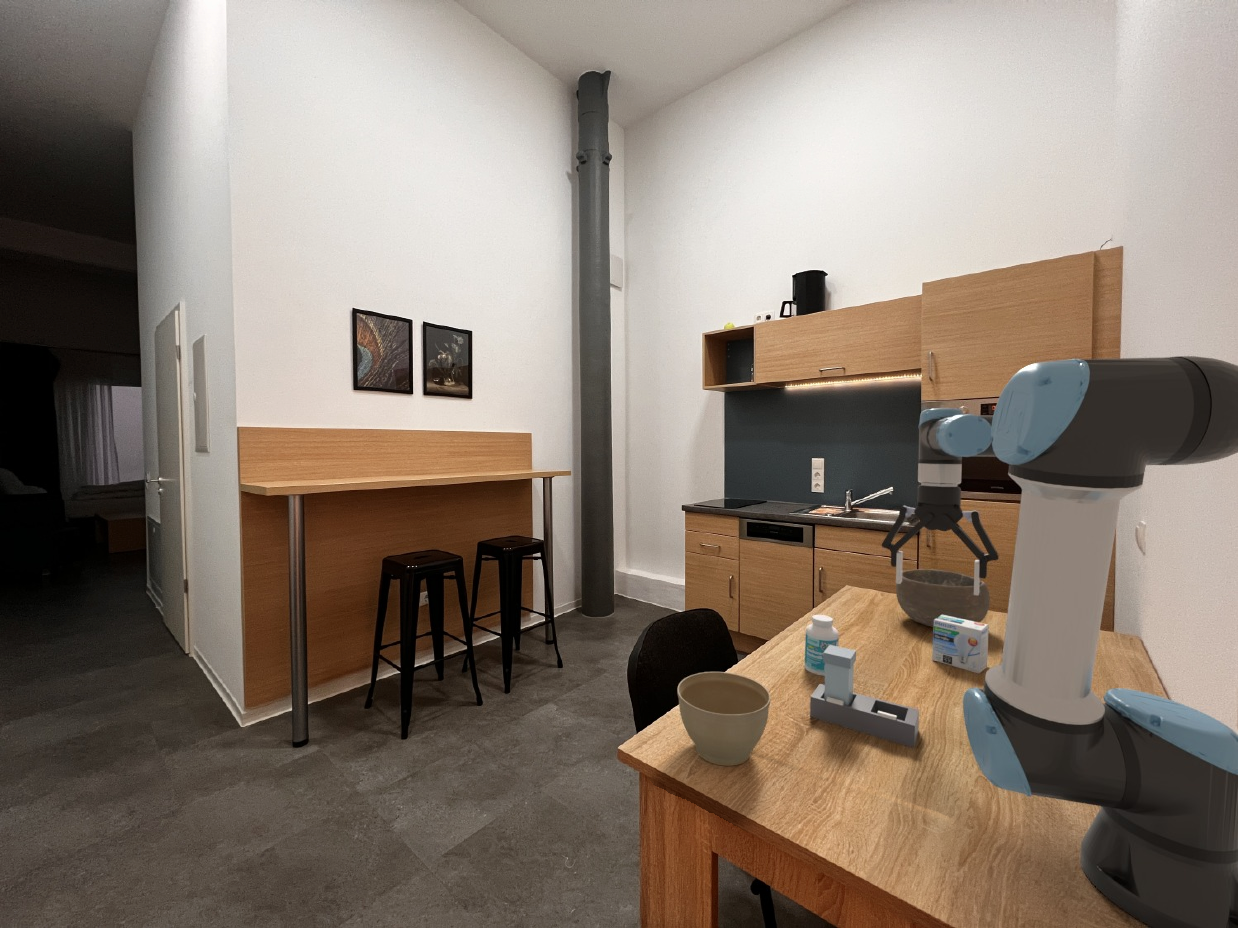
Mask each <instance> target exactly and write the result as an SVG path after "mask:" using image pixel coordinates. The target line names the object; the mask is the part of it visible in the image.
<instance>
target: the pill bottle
mask: <svg viewBox="0 0 1238 928" xmlns="http://www.w3.org/2000/svg"><path fill="white" fill-rule="evenodd" d="M833 624H834V619H833V618H832V617H830V616H828V615H824V614H814V615H812V616H811V623H810V624H809V625H807V626H806V628H805V637H804V638H805V640H804V641H805V643H804V669H805V670H806V671H808V672H810V673H812V674H814V675H818V676H823V677H825V663H823V652H824V651H825V650H826V649H827V647H828V646H829V645H833V646H838V647H839V642H840V641H839V639H840V638H839V637H840V634H839V633H840V632H839V631H838V629H836V628H835V627H834V626H833Z"/></svg>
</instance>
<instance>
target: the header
mask: <svg viewBox="0 0 1238 928" xmlns="http://www.w3.org/2000/svg"><path fill="white" fill-rule="evenodd" d="M824 691H825V684H823V683H819V684H818V686H817V687H816V689H815V690H814V691H813V692H812V694H811V695H810V696H809V697H810V698H809V701H810V702H809V703H810V705H809V707H810V708H809V710H810V711H809V717H810V718H812V719H816V720H819V721H823V722H826V723H830V724H833V725H836V726H840V727H842V728H846V729H849V730H852V731H856V732H859V733H862V734H864V735H865V734H866V735H869V736H873V737H875V738H879V739H883V740H884V741H885V740H886V741H889V742H892V743H896V744H899V745H902V746H906V747H908V748H912V749H915V748H916V743H917V738H918V734H919V727H920V726H919V723H920V721H919V720H920V709H917V708H915V707H910V706H906V705H903V704H898V703H895V702H892V701H891V702H890V701H887V700H883V699H880V698H876V697H872V696H867V695H866V694H865V695H864V694H860V693H856V692H853V703H852V705H851V706H848V705H845V704H844V701H841V700H838V699H834V698H830V697H827V698H826V699H824Z"/></svg>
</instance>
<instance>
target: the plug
mask: <svg viewBox="0 0 1238 928" xmlns="http://www.w3.org/2000/svg"><path fill="white" fill-rule="evenodd" d="M856 661H857V650H855V649H851V648H846V647H843V646H842V647H841V646H839V645H838V646H833V645H829V646H828V647H827V649H826V650H825V651H824V652H823V663H825V676H824V685H825V691H824V699H826V698H827V697H830V698H834V699H838V700H841V701H844V704H845V705H848V706H851V705H852V703H853V693H854V675H855V674H854V673H855V671H854V669H855V663H856Z"/></svg>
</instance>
